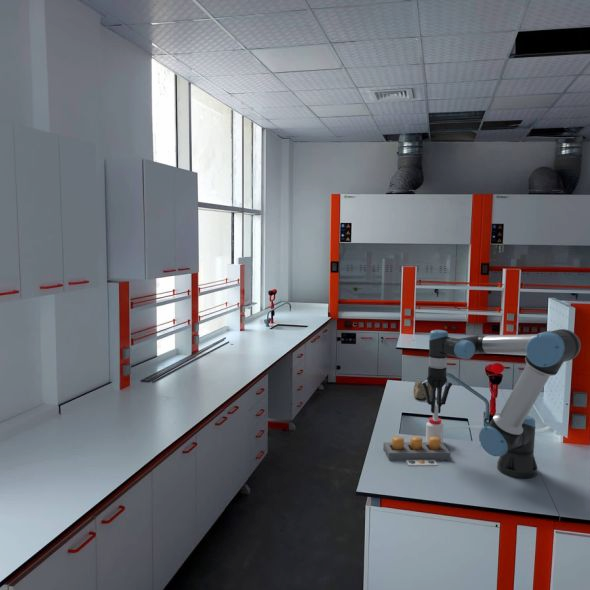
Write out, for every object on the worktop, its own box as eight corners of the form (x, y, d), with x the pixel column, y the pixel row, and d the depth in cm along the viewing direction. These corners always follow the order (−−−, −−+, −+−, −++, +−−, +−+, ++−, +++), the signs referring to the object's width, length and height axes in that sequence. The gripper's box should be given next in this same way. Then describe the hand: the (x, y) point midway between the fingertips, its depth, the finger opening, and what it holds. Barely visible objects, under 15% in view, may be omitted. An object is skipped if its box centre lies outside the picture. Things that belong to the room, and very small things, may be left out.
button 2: (438, 446, 243) (438, 436, 243) (441, 450, 238) (442, 440, 238) (427, 446, 243) (427, 436, 242) (430, 450, 238) (430, 440, 238)
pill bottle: (430, 437, 260) (431, 415, 259) (445, 441, 255) (446, 418, 254) (422, 442, 254) (423, 419, 253) (438, 446, 249) (439, 423, 248)
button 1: (402, 446, 243) (402, 436, 242) (404, 450, 238) (405, 440, 237) (390, 446, 242) (391, 436, 242) (393, 451, 237) (393, 440, 237)
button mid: (420, 446, 243) (420, 436, 242) (423, 450, 238) (423, 440, 237) (408, 446, 243) (409, 436, 242) (411, 450, 238) (412, 440, 237)
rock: (410, 384, 332) (415, 379, 323) (431, 385, 332) (436, 380, 323) (411, 402, 327) (416, 397, 318) (432, 403, 328) (437, 399, 319)
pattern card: (434, 460, 234) (434, 459, 234) (437, 465, 229) (437, 464, 229) (405, 460, 233) (405, 459, 233) (408, 465, 228) (408, 464, 228)
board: (441, 448, 247) (441, 442, 247) (449, 459, 235) (450, 452, 235) (383, 449, 246) (383, 442, 246) (388, 459, 234) (388, 453, 234)
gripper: (449, 364, 241) (447, 417, 243) (420, 364, 240) (418, 417, 243) (455, 368, 233) (452, 423, 236) (424, 368, 233) (422, 423, 235)
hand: (435, 420), depth 239 cm, fingers closed
